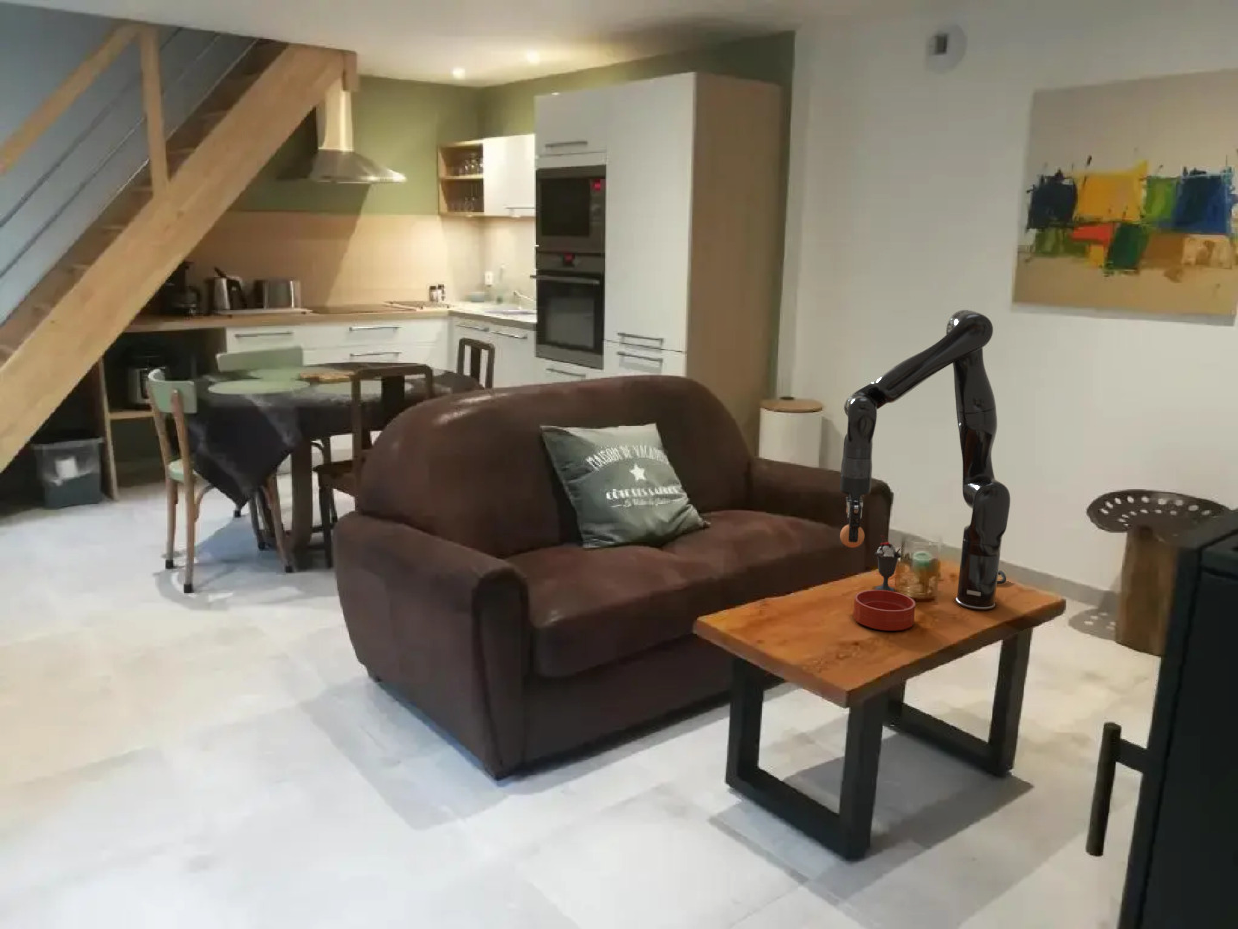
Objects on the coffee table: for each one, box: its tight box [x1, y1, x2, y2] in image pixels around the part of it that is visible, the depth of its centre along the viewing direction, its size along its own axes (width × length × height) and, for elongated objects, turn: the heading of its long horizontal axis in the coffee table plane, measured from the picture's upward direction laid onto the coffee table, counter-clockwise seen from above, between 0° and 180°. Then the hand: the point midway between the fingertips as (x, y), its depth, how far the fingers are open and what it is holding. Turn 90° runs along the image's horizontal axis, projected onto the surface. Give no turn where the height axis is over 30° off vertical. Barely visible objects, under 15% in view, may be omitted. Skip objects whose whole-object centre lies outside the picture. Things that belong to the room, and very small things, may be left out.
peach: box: [839, 522, 865, 548], centre depth 246 cm, size 6×6×7 cm
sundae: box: [874, 534, 902, 592], centre depth 257 cm, size 7×7×15 cm
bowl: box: [852, 589, 916, 632], centre depth 236 cm, size 14×14×6 cm
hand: (852, 537), depth 247 cm, fingers closed on peach, 6 cm apart
